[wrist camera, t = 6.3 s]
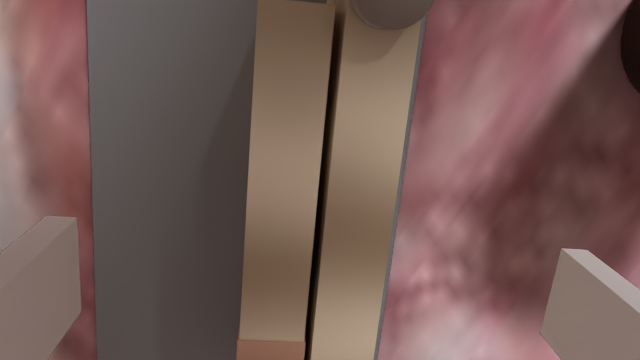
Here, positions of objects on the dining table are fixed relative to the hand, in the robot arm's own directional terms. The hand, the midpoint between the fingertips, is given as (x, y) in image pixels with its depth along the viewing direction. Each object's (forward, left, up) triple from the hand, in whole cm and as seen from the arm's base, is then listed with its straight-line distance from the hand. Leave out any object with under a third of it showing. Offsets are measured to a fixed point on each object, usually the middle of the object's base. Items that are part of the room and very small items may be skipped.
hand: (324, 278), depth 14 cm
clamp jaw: (+1, -1, -8) cm, 8 cm away
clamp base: (-1, +1, -8) cm, 8 cm away
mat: (0, -3, -9) cm, 9 cm away
